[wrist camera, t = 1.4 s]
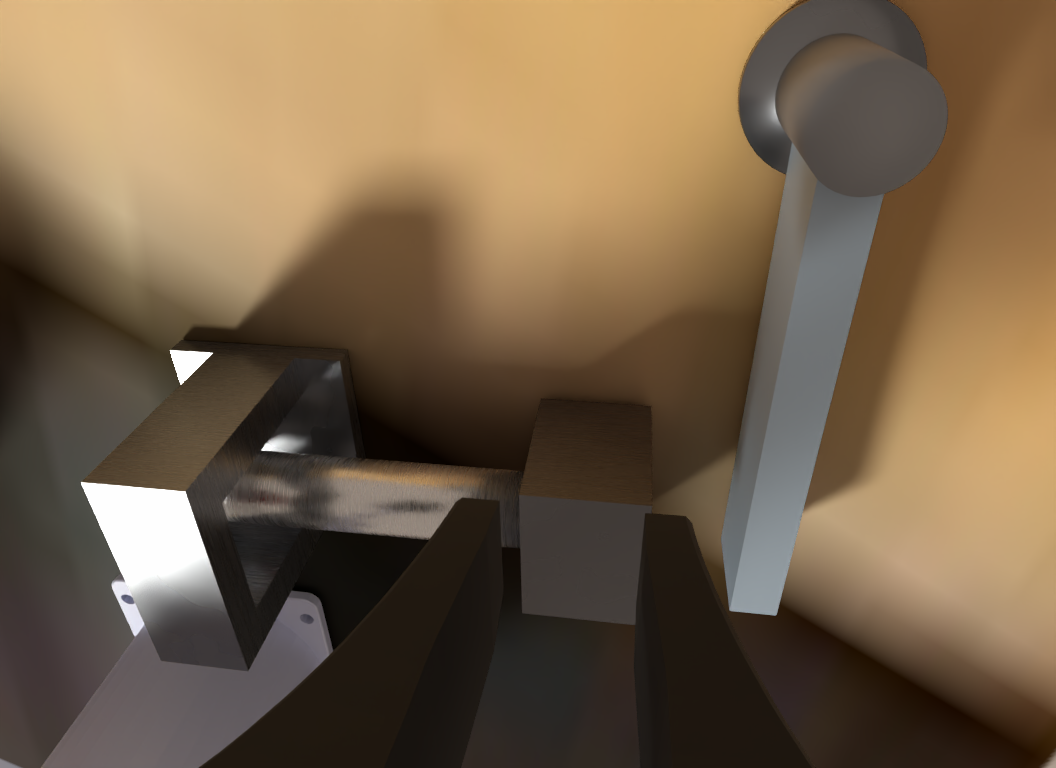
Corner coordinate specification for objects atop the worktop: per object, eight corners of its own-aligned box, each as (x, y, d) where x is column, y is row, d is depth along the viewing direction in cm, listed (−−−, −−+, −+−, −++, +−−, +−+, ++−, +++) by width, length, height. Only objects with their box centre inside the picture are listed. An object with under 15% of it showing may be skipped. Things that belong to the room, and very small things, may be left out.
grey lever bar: (780, 543, 21) (800, 636, 18) (703, 537, 21) (712, 627, 19) (903, 33, 14) (966, 59, 11) (785, 32, 14) (818, 58, 11)
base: (895, 177, 16) (899, 181, 15) (727, 173, 16) (728, 177, 16) (945, -10, 14) (950, -9, 14) (751, -9, 14) (753, -8, 14)
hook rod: (640, 517, 21) (639, 625, 18) (201, 479, 23) (126, 571, 20) (651, 406, 19) (652, 506, 16) (166, 373, 21) (75, 457, 18)
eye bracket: (374, 510, 23) (296, 677, 18) (230, 497, 24) (114, 655, 19) (347, 350, 20) (243, 496, 15) (181, 340, 21) (26, 477, 16)
